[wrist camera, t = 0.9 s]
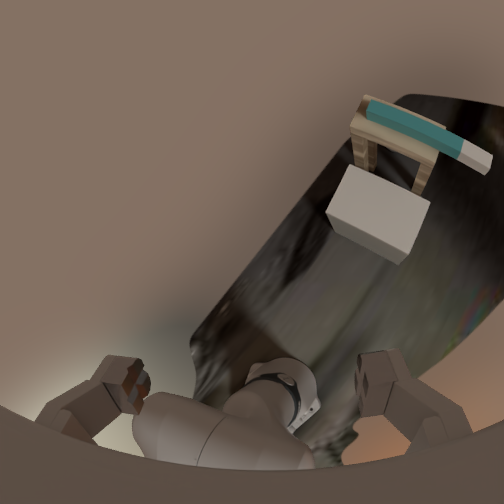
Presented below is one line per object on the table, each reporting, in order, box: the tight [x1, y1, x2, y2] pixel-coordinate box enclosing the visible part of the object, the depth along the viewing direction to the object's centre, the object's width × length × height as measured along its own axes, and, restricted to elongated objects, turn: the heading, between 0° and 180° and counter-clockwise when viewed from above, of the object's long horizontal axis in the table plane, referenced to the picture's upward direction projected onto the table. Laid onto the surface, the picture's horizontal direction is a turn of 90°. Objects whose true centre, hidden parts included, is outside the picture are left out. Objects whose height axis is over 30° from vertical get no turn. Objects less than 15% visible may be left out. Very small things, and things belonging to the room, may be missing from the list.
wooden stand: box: [350, 94, 446, 197], centre depth 49 cm, size 7×14×26 cm, turn 60°
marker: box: [366, 99, 493, 175], centre depth 34 cm, size 2×20×2 cm, turn 60°
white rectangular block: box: [326, 164, 430, 265], centre depth 54 cm, size 10×16×16 cm, turn 60°
